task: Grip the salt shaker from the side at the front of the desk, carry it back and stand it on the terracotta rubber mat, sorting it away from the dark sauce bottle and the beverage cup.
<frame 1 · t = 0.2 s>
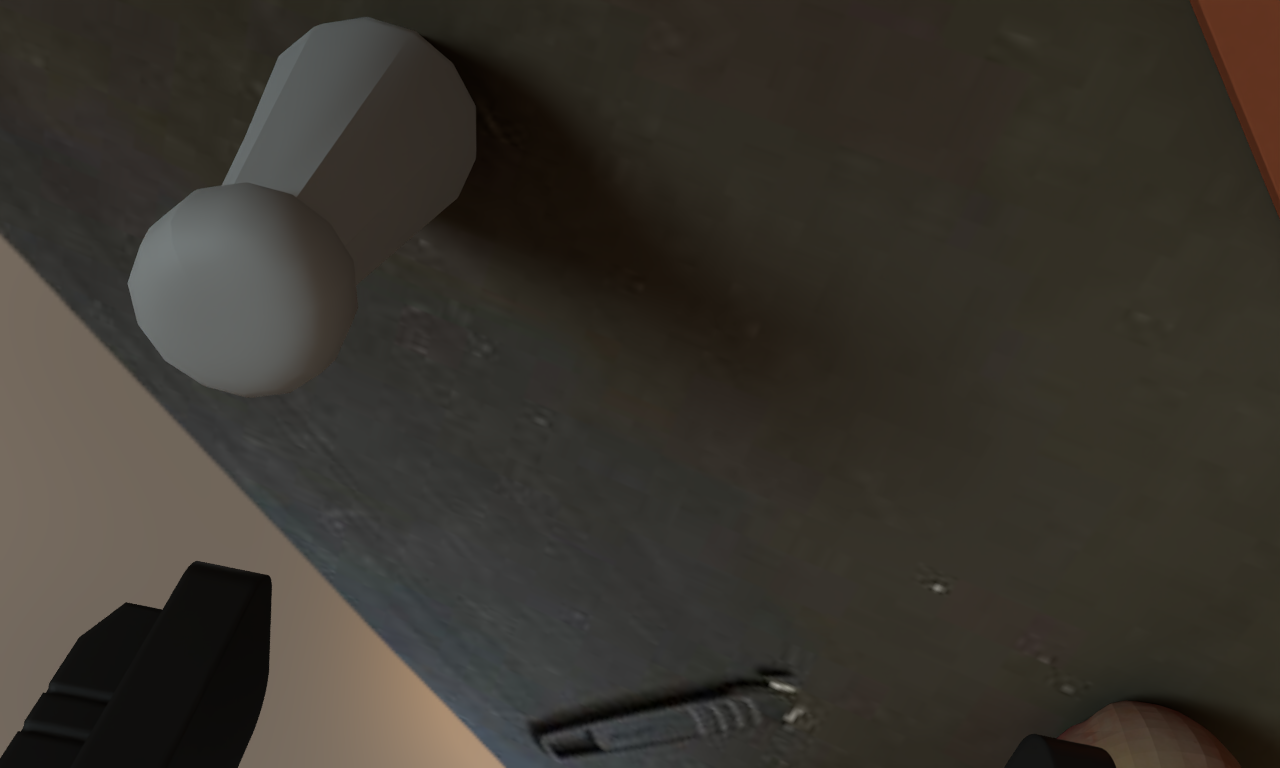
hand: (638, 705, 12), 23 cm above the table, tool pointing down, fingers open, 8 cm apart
fruit: (1110, 728, 45), on the table
salt shaker: (395, 95, 32), on the table
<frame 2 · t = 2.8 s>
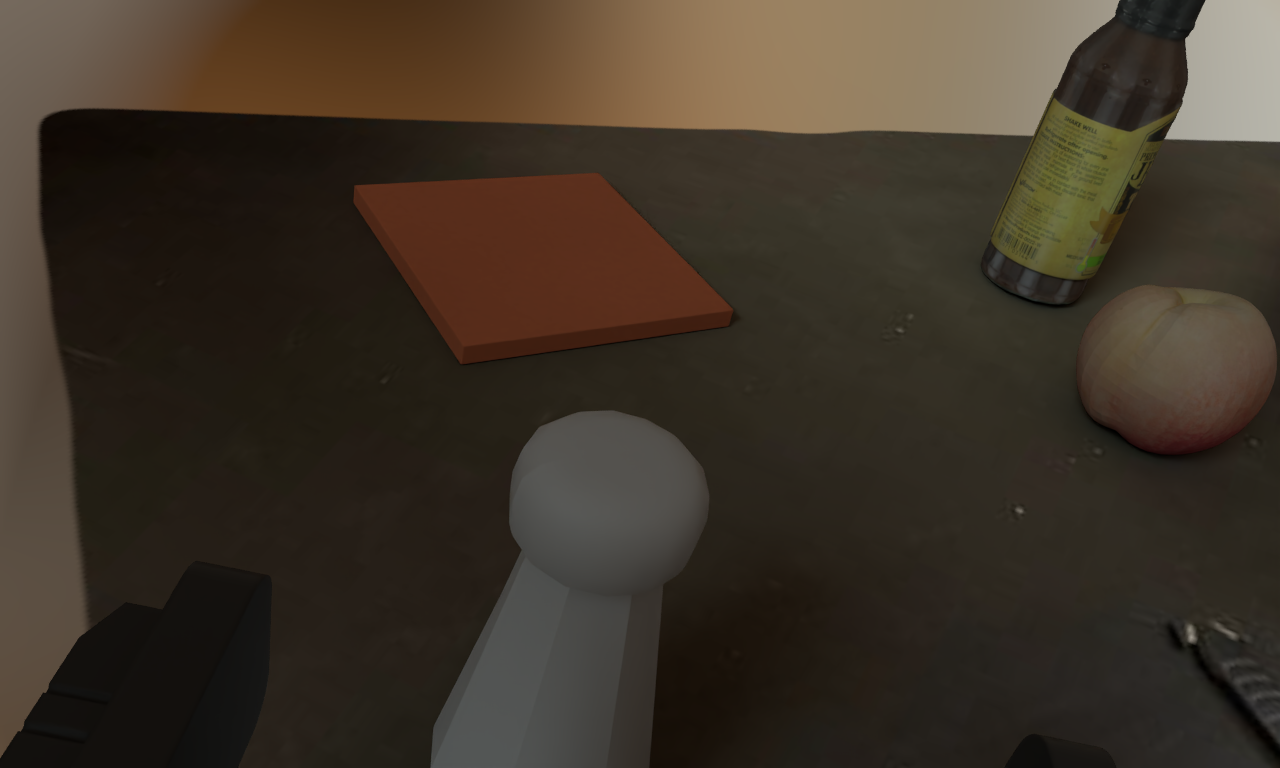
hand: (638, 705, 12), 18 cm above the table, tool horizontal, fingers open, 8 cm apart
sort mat: (537, 263, 55), on the table
sauce bottle: (1026, 285, 65), on the table
fruit: (1130, 435, 54), on the table
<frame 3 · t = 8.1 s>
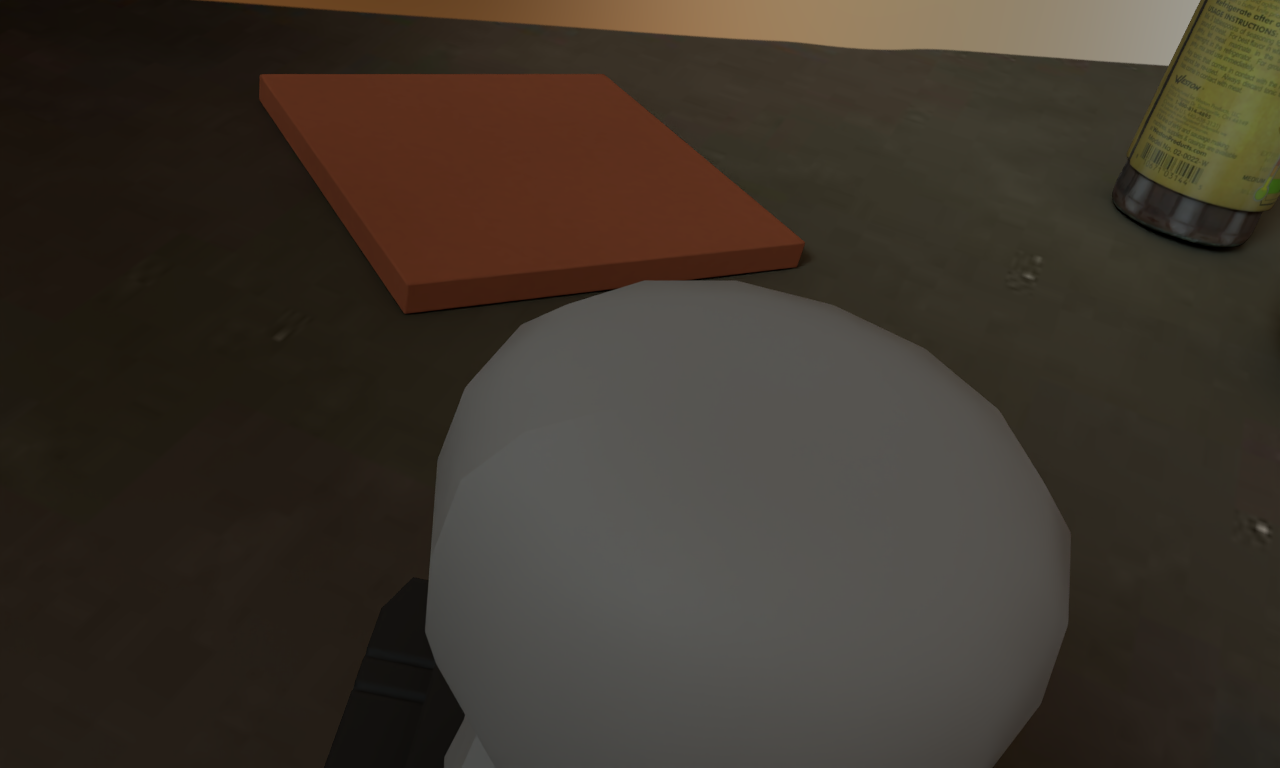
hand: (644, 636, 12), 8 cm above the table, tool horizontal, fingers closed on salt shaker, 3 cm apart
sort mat: (522, 182, 38), on the table
sauce bottle: (1172, 225, 49), on the table
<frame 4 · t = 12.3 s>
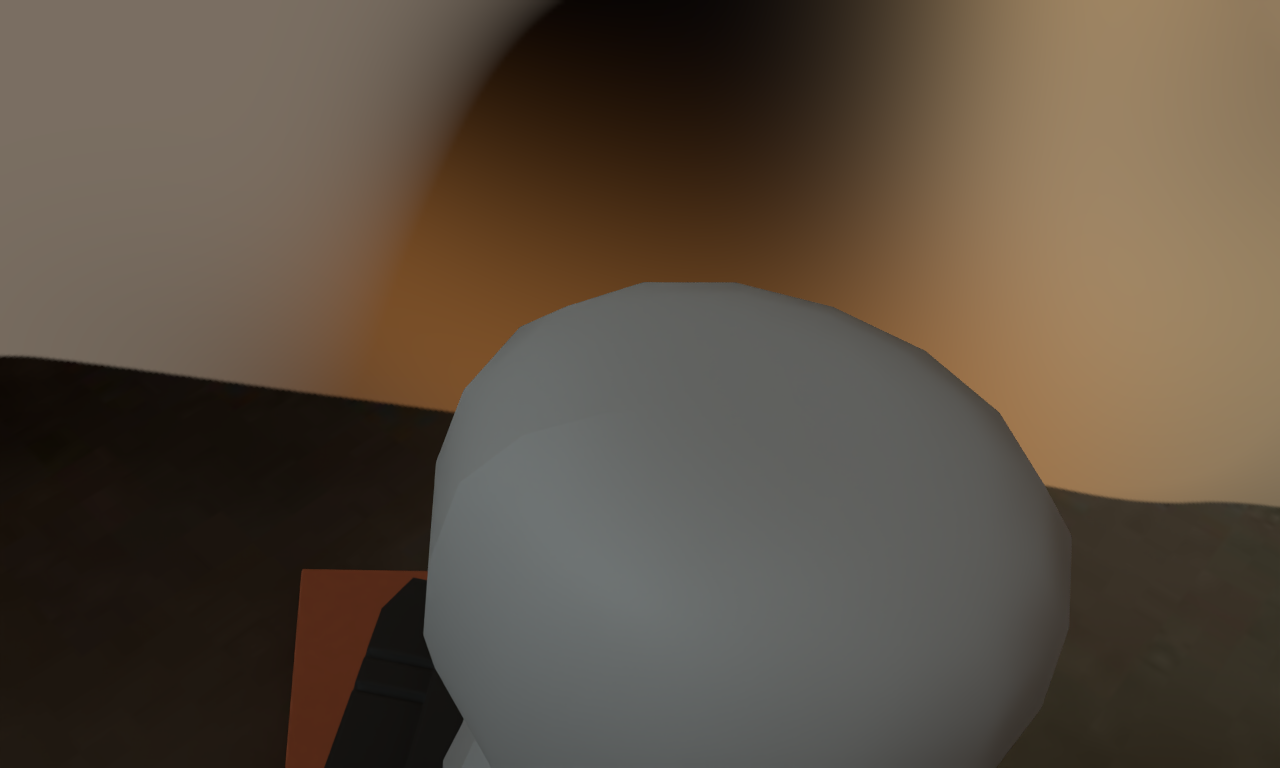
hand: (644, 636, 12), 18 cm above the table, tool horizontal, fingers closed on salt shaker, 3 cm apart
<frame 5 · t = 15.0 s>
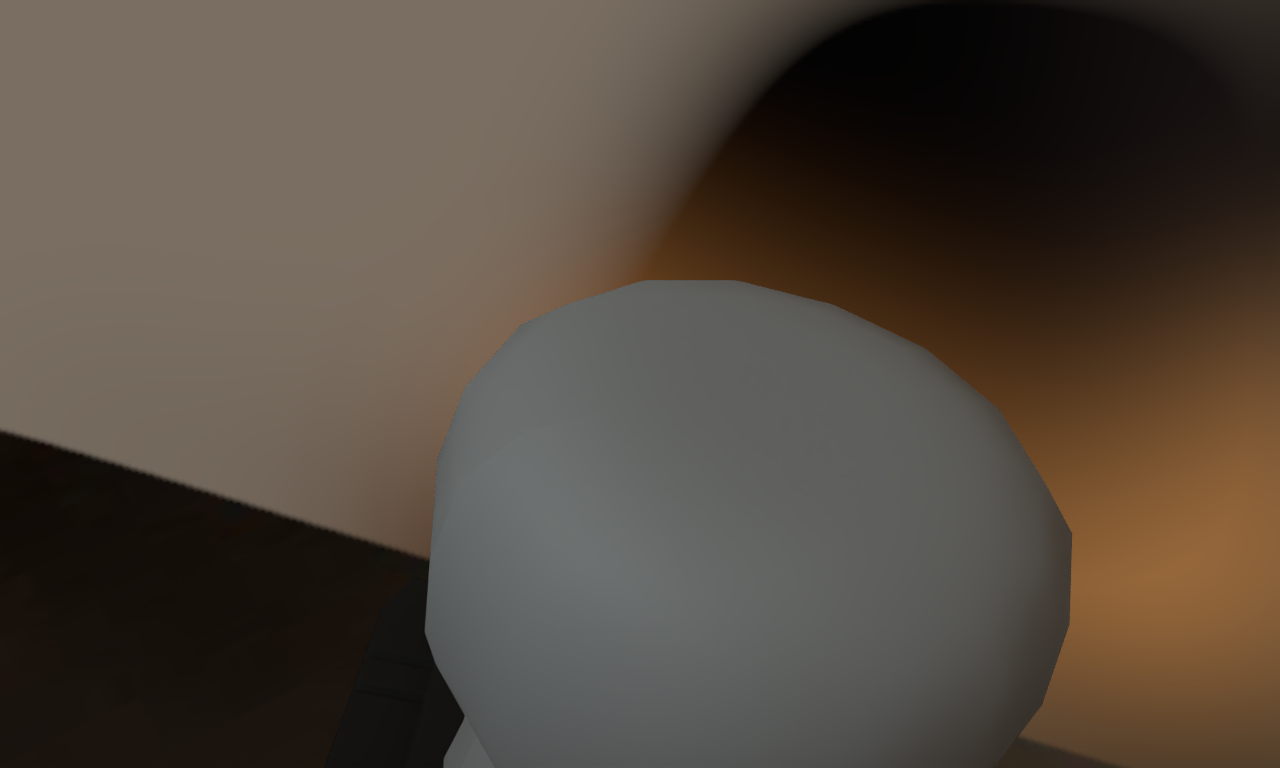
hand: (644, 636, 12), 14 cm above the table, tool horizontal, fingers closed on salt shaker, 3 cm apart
when the fingers open (9 cm above the table, at t = 16.8 s): salt shaker stays where it is, resting on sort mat.
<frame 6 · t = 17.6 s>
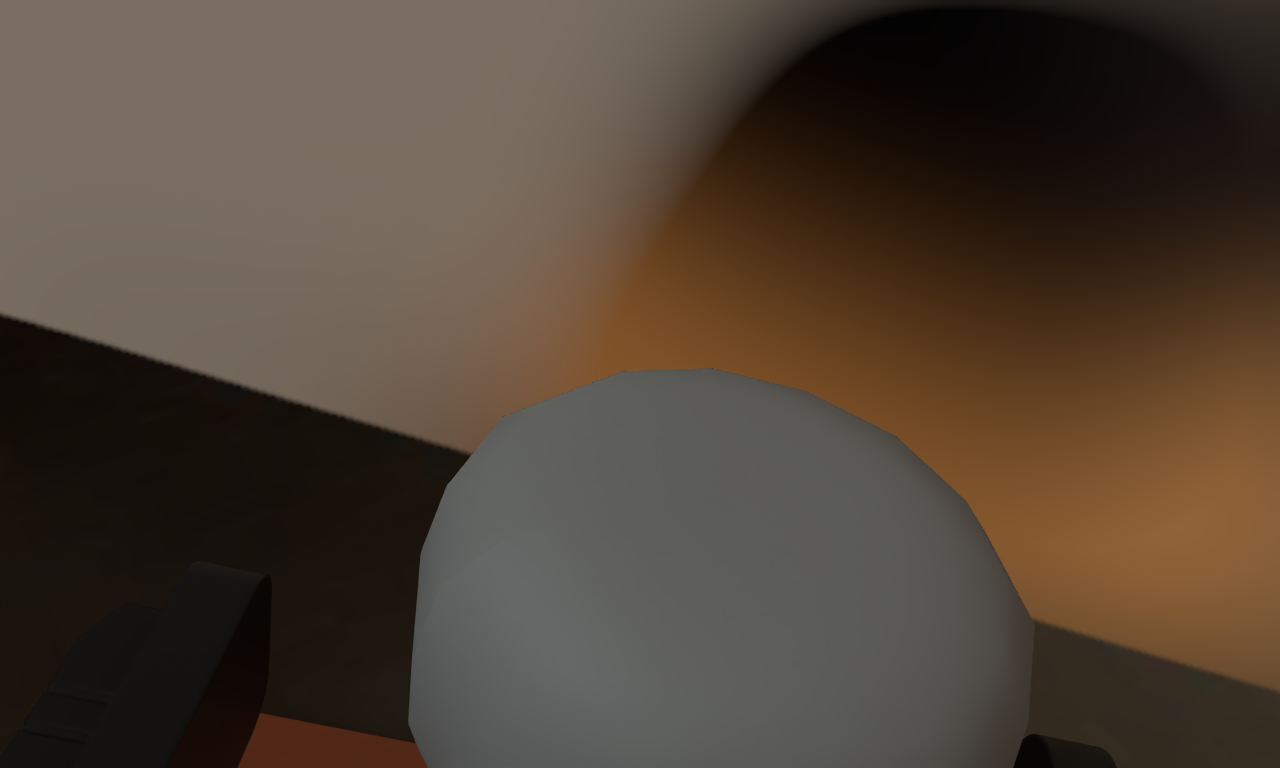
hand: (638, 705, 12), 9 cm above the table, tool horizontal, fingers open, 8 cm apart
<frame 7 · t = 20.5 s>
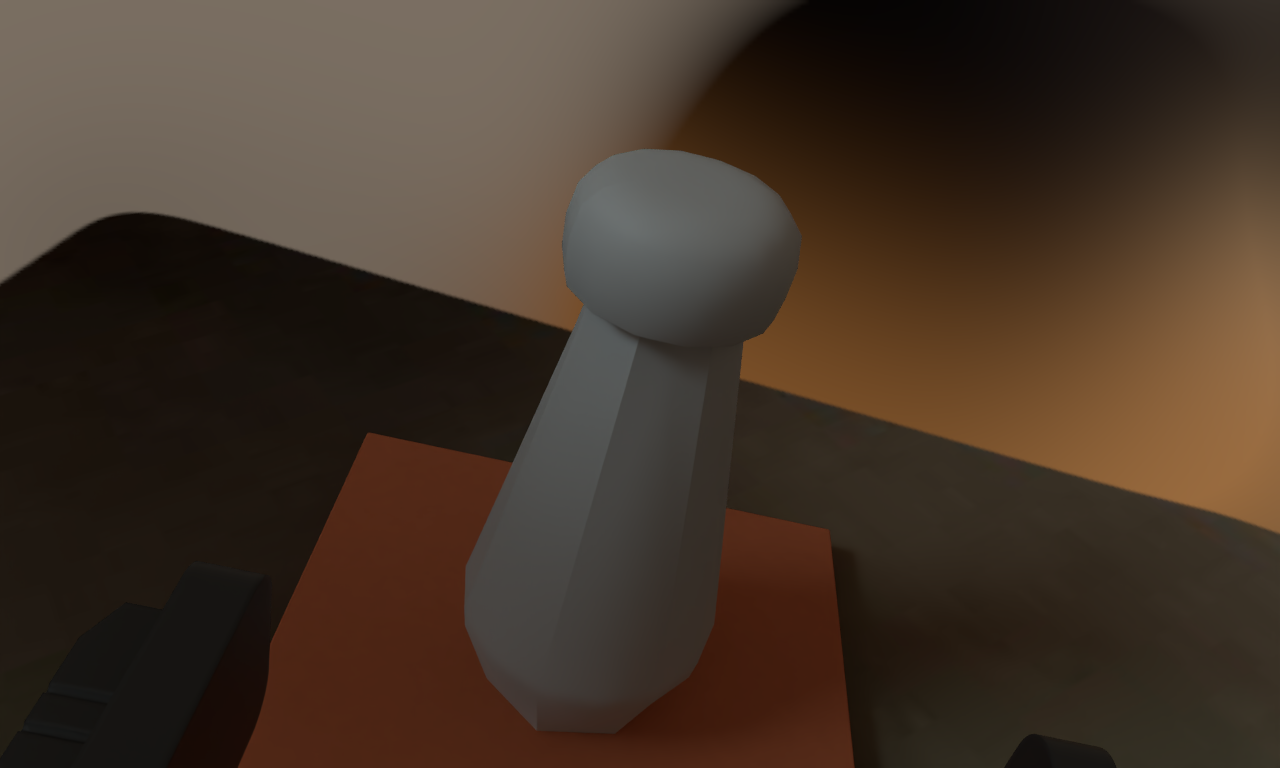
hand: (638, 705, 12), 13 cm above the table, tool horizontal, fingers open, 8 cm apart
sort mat: (566, 688, 28), on the table
salt shaker: (569, 671, 27), point 1 cm above the table, touching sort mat
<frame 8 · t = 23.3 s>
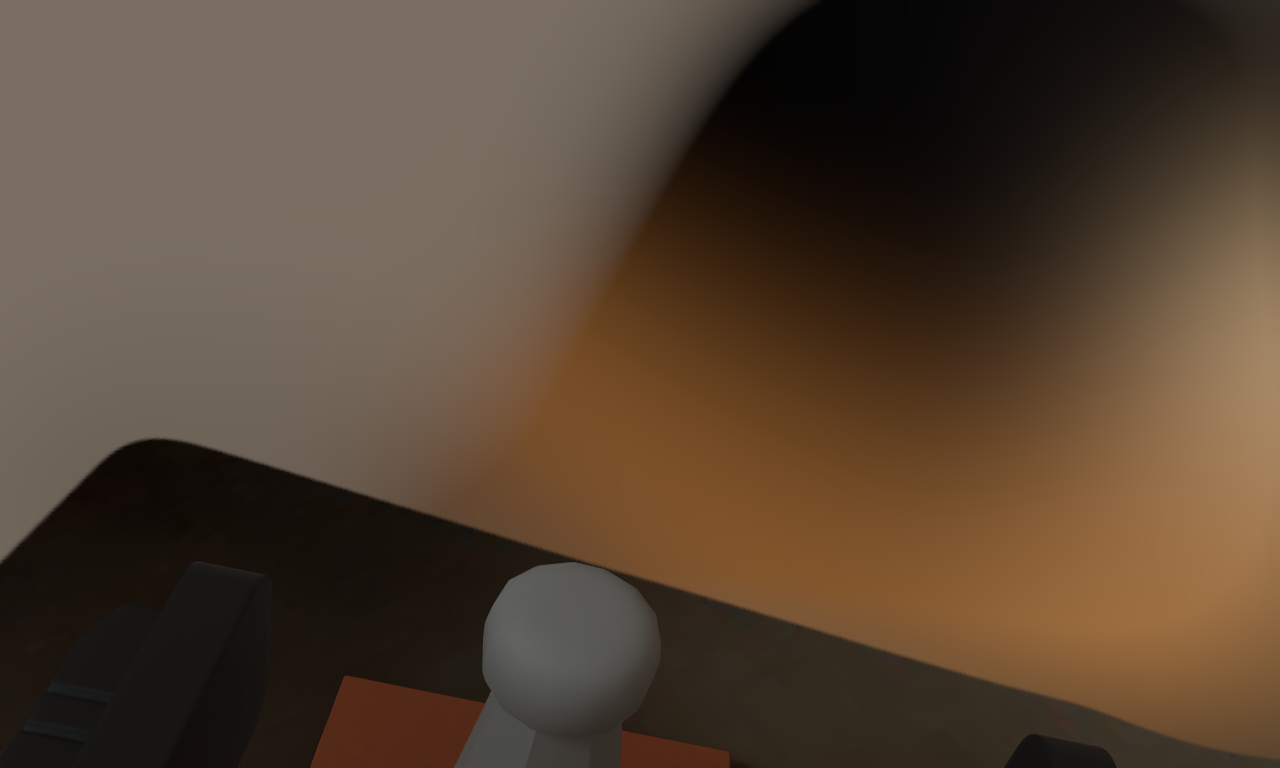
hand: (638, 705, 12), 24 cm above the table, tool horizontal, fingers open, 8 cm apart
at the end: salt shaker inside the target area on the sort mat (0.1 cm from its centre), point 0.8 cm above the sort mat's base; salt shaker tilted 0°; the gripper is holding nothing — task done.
